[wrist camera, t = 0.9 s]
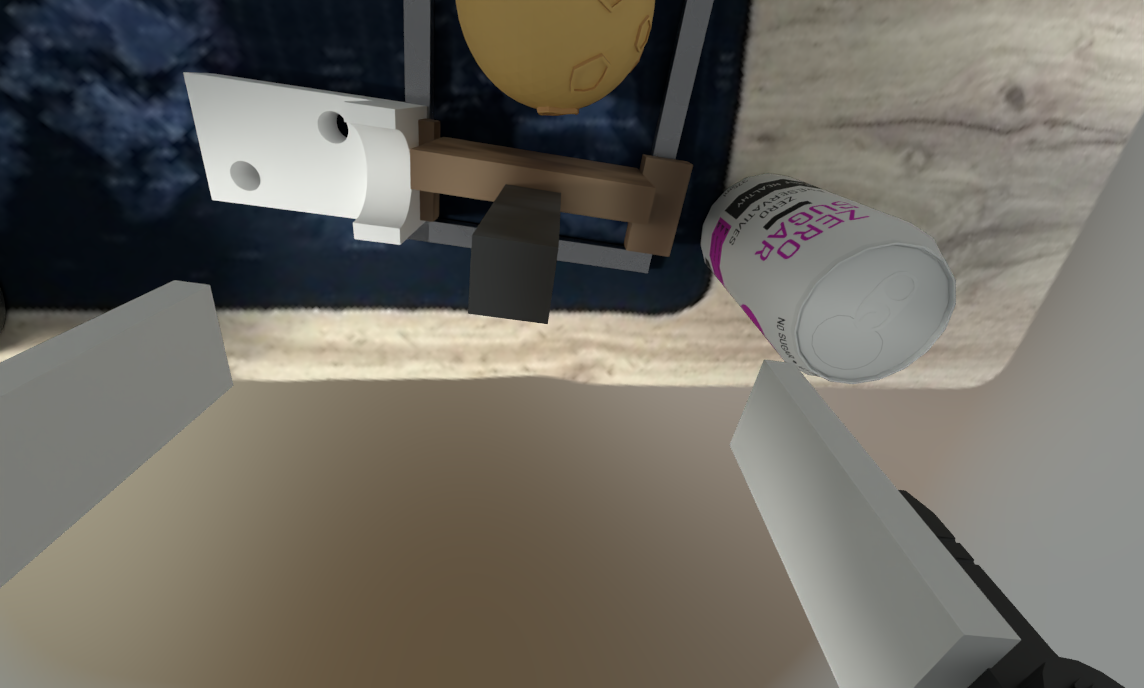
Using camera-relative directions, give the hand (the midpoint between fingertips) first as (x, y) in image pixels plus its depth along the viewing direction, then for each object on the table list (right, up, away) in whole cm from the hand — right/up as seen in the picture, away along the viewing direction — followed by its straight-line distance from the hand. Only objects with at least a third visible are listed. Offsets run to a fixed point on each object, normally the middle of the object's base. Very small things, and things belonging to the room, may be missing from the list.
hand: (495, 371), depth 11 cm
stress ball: (+1, +20, +16) cm, 26 cm away
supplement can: (+15, +9, +23) cm, 29 cm away
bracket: (-14, +14, +20) cm, 28 cm away
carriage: (0, +12, +20) cm, 24 cm away
